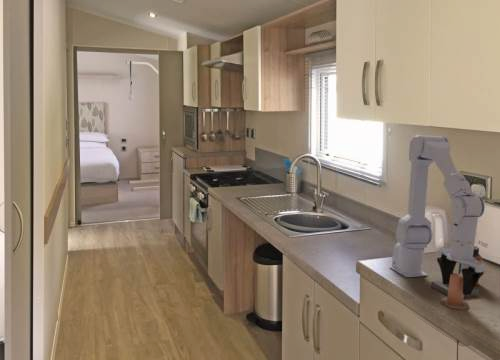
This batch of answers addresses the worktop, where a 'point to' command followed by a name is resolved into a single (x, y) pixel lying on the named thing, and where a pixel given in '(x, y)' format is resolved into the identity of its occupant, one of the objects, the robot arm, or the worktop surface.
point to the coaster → (459, 307)
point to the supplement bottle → (475, 256)
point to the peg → (455, 289)
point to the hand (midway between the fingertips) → (456, 288)
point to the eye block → (445, 287)
